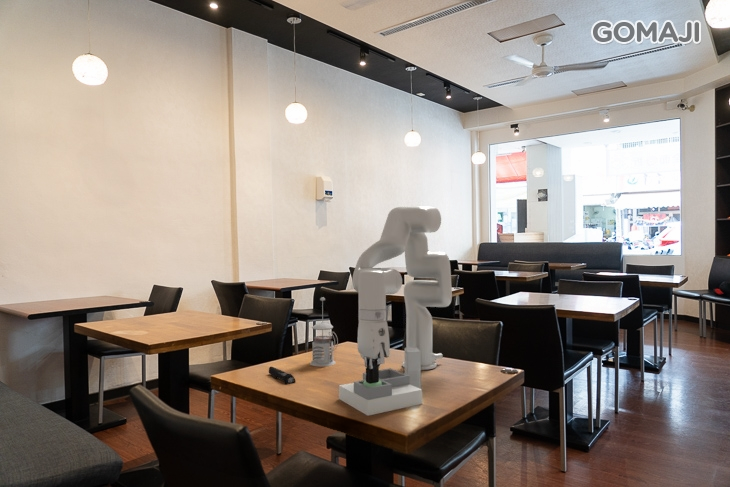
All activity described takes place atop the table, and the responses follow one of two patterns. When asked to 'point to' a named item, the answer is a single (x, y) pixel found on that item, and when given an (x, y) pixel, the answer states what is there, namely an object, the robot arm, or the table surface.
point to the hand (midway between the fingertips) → (372, 382)
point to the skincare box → (413, 366)
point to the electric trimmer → (282, 375)
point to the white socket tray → (381, 393)
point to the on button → (372, 384)
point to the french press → (323, 345)
